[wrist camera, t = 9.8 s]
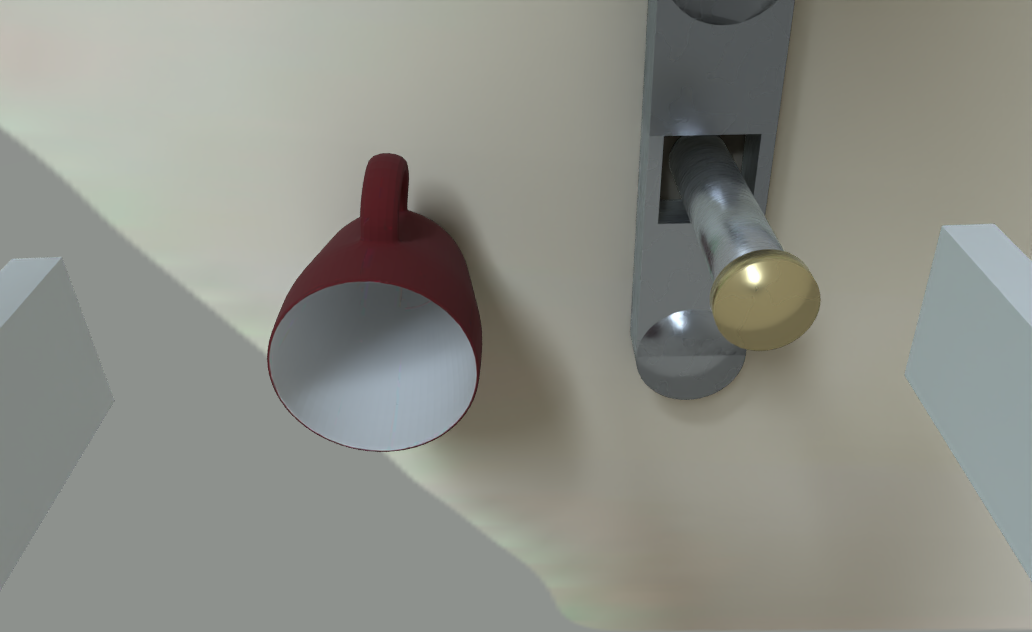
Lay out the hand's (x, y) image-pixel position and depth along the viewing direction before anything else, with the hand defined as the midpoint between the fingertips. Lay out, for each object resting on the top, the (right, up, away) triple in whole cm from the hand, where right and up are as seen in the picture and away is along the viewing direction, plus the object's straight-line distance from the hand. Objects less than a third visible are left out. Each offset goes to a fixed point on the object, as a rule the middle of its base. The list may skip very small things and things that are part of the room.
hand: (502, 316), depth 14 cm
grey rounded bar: (+8, +7, +26) cm, 28 cm away
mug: (-5, +4, +28) cm, 29 cm away
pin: (+8, +7, +26) cm, 28 cm away
